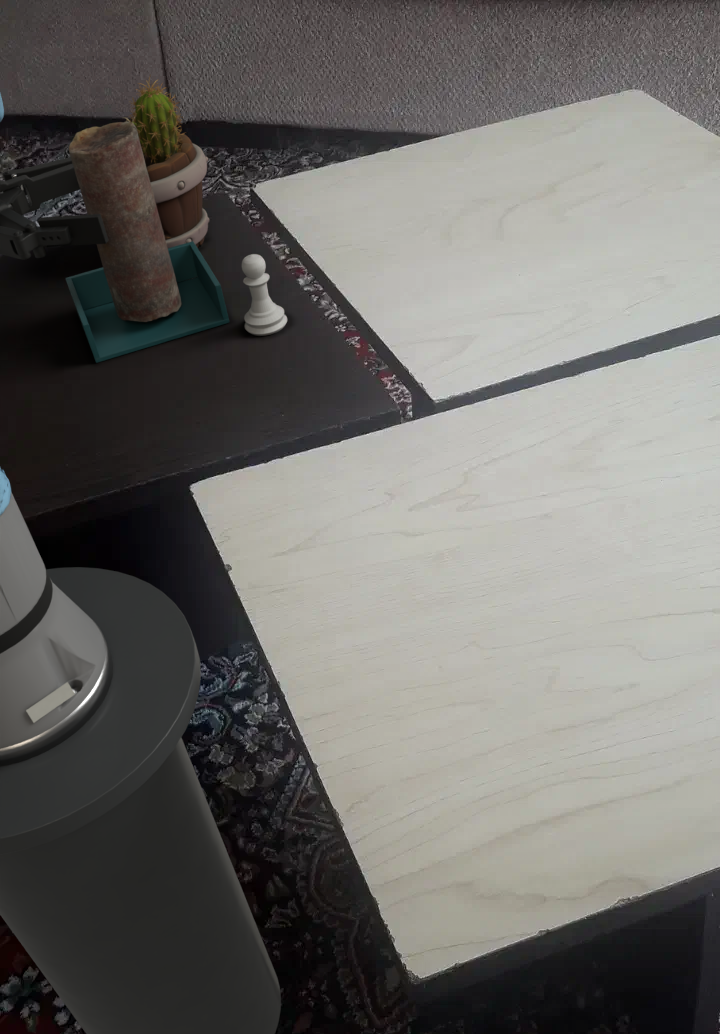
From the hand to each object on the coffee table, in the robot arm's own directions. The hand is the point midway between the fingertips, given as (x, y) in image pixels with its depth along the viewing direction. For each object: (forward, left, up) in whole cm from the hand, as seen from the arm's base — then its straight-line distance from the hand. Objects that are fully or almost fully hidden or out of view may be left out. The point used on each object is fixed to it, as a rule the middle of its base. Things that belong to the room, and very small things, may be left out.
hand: (125, 199), depth 110 cm
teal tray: (-1, +3, -14) cm, 14 cm away
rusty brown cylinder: (-1, +1, -13) cm, 13 cm away
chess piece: (+10, -8, -14) cm, 19 cm away
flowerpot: (+5, +18, -14) cm, 23 cm away
